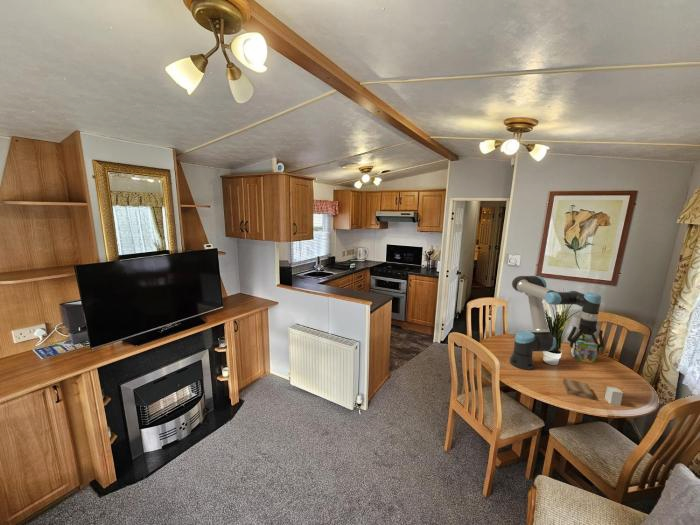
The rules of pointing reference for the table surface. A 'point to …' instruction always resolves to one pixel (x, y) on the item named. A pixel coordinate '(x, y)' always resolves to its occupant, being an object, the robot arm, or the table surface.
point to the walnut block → (577, 389)
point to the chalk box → (585, 350)
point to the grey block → (613, 395)
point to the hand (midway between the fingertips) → (583, 354)
